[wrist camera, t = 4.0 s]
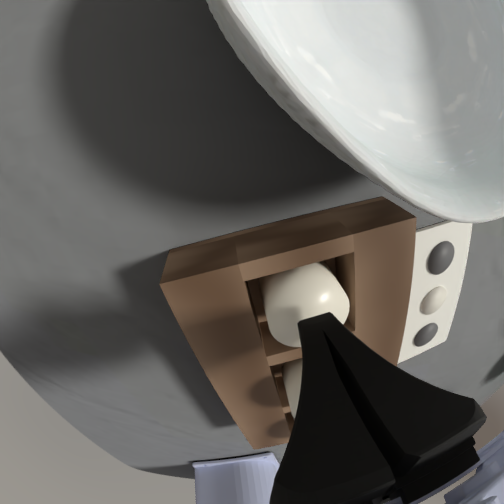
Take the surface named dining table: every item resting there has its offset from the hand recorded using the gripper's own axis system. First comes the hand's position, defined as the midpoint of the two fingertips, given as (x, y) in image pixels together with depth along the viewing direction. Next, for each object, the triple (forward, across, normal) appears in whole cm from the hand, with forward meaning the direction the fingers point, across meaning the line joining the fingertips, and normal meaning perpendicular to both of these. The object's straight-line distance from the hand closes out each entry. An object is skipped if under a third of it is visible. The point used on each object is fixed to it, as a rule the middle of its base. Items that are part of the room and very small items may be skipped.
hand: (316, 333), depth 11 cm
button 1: (+4, 0, 0) cm, 4 cm away
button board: (+4, 0, +5) cm, 7 cm away
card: (+4, -10, +5) cm, 12 cm away
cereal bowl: (+5, -7, -13) cm, 15 cm away
